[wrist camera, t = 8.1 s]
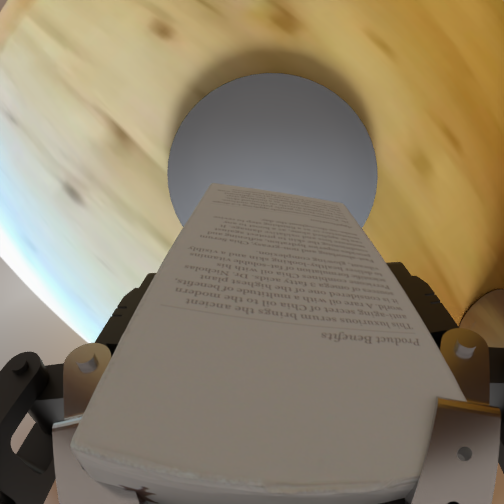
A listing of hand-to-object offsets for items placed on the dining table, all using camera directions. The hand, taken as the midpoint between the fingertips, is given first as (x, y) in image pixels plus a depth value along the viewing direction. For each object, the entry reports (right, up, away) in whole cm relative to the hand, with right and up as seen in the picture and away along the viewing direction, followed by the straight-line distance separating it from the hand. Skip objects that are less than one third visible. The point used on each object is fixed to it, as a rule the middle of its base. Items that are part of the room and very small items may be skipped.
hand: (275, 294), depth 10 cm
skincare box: (0, +2, +4) cm, 5 cm away
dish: (+1, +7, +14) cm, 16 cm away
